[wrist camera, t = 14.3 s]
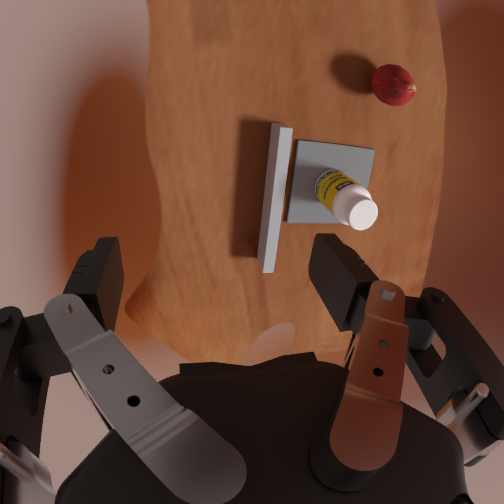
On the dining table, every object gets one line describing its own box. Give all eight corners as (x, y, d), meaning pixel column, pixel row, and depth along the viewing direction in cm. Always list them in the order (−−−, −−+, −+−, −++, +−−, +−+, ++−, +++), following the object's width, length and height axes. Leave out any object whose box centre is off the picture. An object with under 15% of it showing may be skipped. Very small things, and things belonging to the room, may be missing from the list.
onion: (369, 108, 38) (403, 117, 31) (354, 71, 34) (388, 73, 28) (398, 94, 37) (434, 102, 30) (385, 59, 34) (421, 60, 27)
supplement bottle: (332, 160, 40) (368, 184, 32) (354, 185, 43) (390, 213, 35) (305, 187, 42) (335, 218, 34) (328, 210, 44) (360, 244, 36)
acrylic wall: (271, 122, 37) (280, 127, 33) (282, 123, 37) (292, 128, 34) (257, 257, 47) (263, 272, 43) (266, 257, 47) (273, 272, 44)
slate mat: (297, 139, 38) (298, 140, 38) (373, 149, 41) (375, 150, 41) (286, 221, 45) (287, 223, 44) (357, 222, 47) (358, 223, 47)
